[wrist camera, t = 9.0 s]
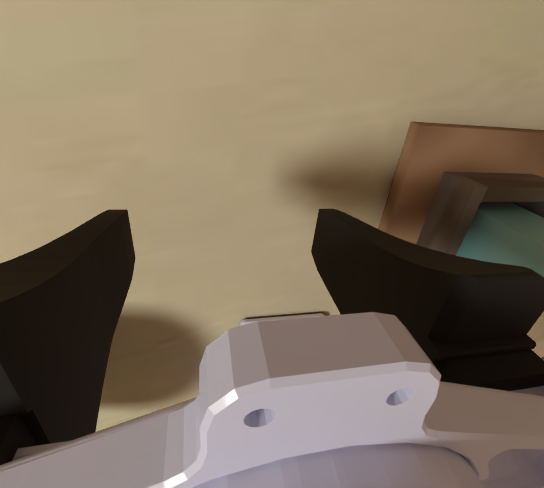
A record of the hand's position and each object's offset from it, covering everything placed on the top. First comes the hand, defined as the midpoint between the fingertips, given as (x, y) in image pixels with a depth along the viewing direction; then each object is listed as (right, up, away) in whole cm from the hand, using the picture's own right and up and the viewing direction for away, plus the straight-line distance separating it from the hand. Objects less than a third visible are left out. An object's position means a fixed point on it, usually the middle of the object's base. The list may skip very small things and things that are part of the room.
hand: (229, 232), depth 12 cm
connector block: (+18, +2, +13) cm, 22 cm away
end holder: (+17, +2, +14) cm, 22 cm away
